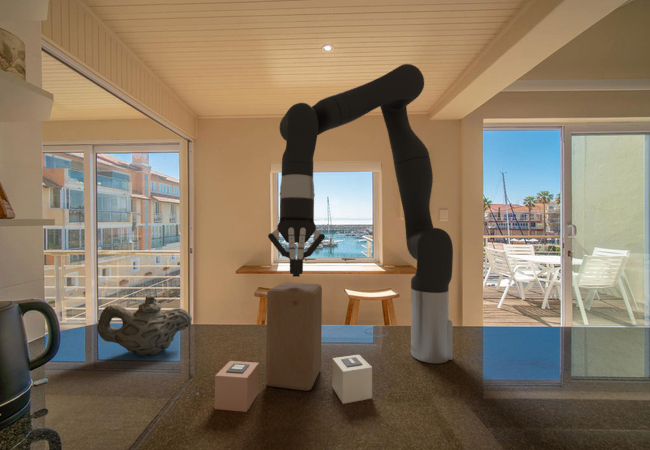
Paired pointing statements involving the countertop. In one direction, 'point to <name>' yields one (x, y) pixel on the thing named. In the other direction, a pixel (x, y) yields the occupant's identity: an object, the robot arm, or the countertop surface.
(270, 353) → the wooden block
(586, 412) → the countertop surface
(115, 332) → the teapot
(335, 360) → the cream cube
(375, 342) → the countertop surface
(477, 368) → the countertop surface
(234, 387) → the pink cube
